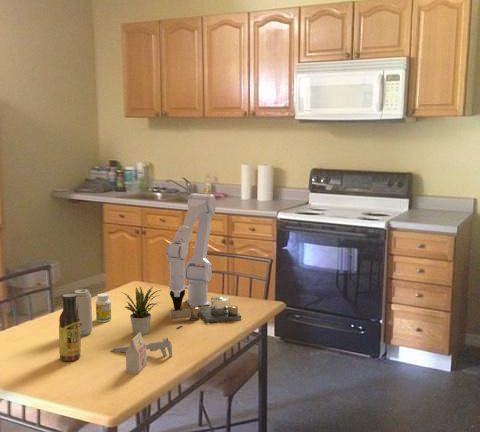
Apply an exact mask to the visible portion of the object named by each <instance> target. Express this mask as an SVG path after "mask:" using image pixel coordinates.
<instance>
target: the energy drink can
mask: <svg viewBox="0 0 480 432" xmlns="http://www.w3.org/2000/svg"><path fill="white" fill-rule="evenodd" d="M73 294H76V310H77V313H78V316H79V319H80V332H81V337H86V336H89V335H90V334H91V333H92V332H93V314H92V312H93V311H92V294H91V292H90V290H89V289H88V288H80V289H79V288H78V289H76V290H74V293H73Z"/></svg>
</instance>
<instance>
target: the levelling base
mask: <svg viewBox="0 0 480 432" xmlns="http://www.w3.org/2000/svg"><path fill="white" fill-rule="evenodd" d="M230 303H231V300H230V297H228V296H224V295H217V296H216V295H215V296H212V297H210V306H200V316H201V318H202V319H203V320H204V322H205V323H206V324H213V323H222V322H223V323H224V322H231V321H239V320H240V321H241V320H242V315H241V313H239V306H238V305H233V304H232V305H231V304H230ZM183 326H184V325H179V326H177V327H176V329H177V330H179V329H181V328H183Z"/></svg>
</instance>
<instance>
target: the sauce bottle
mask: <svg viewBox="0 0 480 432" xmlns="http://www.w3.org/2000/svg"><path fill="white" fill-rule="evenodd" d="M61 300H62V305H63V306H62V311H61V313H60V315H59V318H58V319H59V320H58V322H59V323H58V324H59V325H58V337H59V340H58V342H59V343H58V344H59V345H58V346H59V348H58V349H59V351H58V352H59V359H60V360H61V361H62V362H73V361H77V360H78V359H80V357H81V352H82V349H81V347H82V346H81V345H82V344H81V342H82V341H81V338H82V336H81V332H80V319H79V316H78V313H77V310H76V294H74V293H65V294H62V297H61Z"/></svg>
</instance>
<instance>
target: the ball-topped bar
mask: <svg viewBox="0 0 480 432" xmlns="http://www.w3.org/2000/svg"><path fill="white" fill-rule="evenodd" d="M200 308H201V306H192V307H191V306H190V307H188V308H181V309H177V310H175V309H170V310H169V311H170V313H169V314H170V315H169V317H170V320H178V319H179V320H180V319H187V318H189V319H190V320H191V321H197V320H200V319H201V318H200V316H201V315H200Z"/></svg>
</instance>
